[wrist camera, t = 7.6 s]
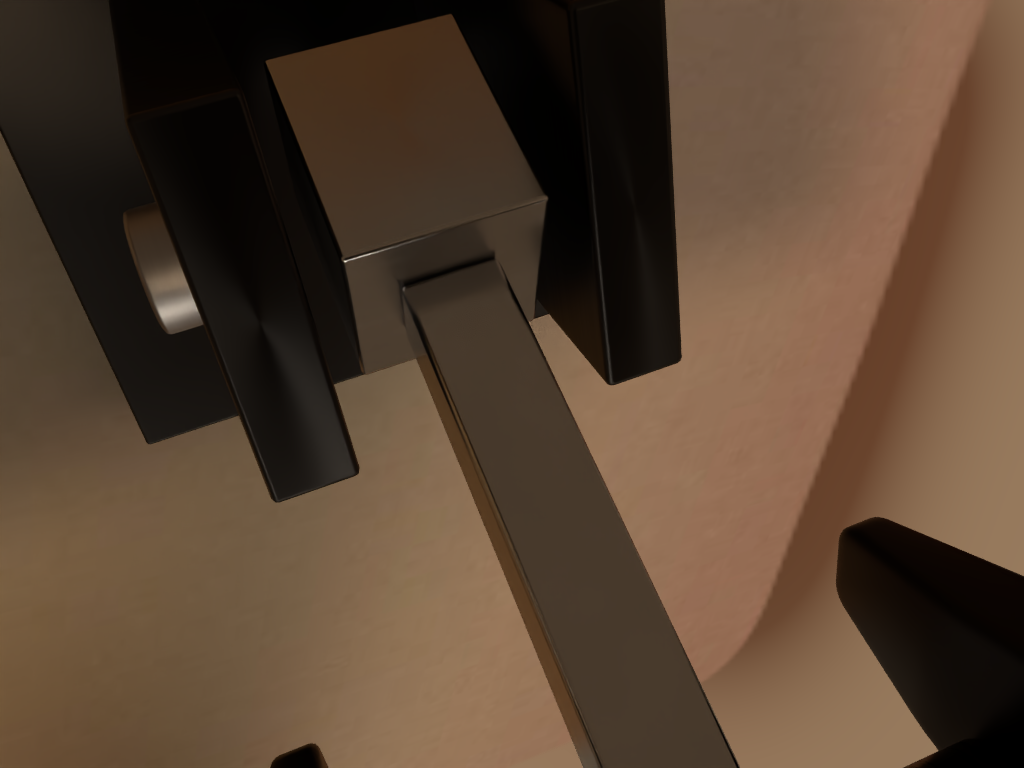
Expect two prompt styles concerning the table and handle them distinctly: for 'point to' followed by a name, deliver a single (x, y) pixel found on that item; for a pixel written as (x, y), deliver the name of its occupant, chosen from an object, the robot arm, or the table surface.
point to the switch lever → (493, 368)
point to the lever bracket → (274, 208)
